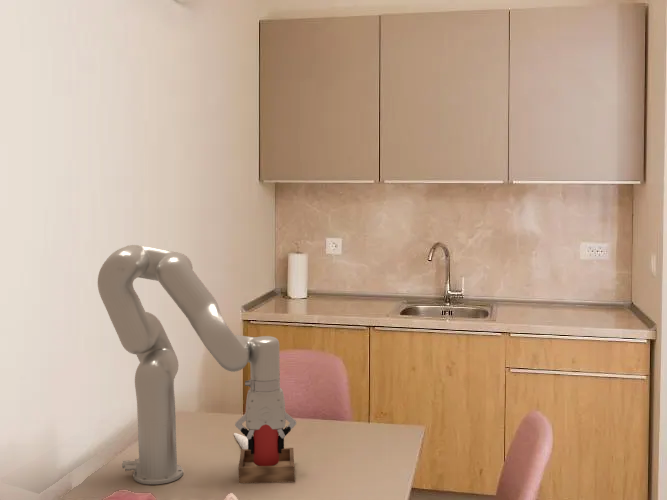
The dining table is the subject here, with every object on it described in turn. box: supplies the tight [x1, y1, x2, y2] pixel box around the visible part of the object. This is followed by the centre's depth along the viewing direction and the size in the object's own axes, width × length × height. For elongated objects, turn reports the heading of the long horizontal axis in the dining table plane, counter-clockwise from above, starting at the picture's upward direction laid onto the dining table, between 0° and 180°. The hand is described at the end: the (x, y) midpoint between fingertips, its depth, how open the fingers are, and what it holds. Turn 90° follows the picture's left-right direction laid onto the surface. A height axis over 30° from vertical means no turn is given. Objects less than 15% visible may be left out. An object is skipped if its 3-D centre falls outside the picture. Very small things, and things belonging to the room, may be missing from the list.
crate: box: [238, 447, 295, 484], centre depth 207 cm, size 14×14×4 cm
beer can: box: [253, 422, 279, 466], centre depth 206 cm, size 7×7×12 cm
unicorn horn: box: [233, 432, 248, 449], centre depth 227 cm, size 5×24×5 cm, turn 19°
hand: (266, 451), depth 206 cm, fingers closed on beer can, 6 cm apart
